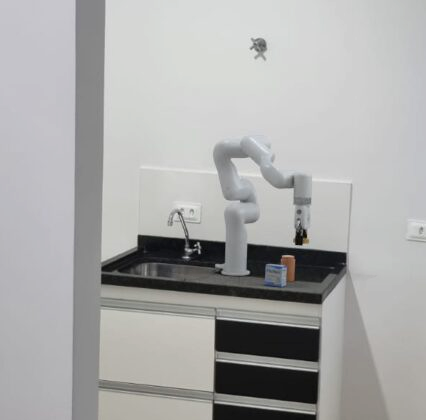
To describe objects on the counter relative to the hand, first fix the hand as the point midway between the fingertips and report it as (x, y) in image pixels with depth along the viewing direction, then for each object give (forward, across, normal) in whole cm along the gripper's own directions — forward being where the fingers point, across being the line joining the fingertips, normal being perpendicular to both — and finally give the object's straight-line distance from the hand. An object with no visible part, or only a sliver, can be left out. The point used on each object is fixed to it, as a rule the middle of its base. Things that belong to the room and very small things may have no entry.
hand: (301, 244), depth 360 cm
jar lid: (-2, 0, 0) cm, 2 cm away
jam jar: (+17, +9, +8) cm, 21 cm away
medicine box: (+17, -6, +9) cm, 20 cm away
